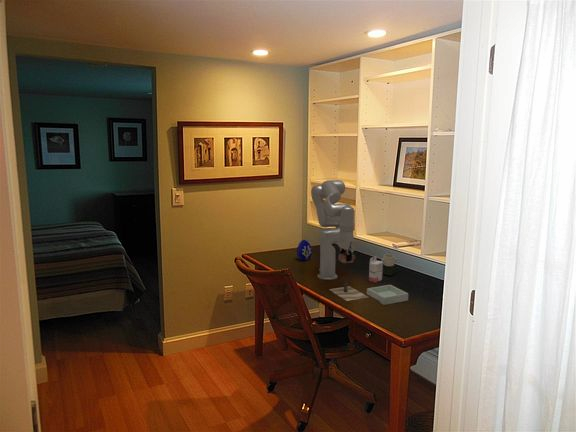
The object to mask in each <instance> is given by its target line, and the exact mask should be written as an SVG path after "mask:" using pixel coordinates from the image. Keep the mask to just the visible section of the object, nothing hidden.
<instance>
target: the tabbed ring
mask: <svg viewBox="0 0 576 432" xmlns="http://www.w3.org/2000/svg"><path fill="white" fill-rule="evenodd" d="M346 255H347V252H346V253H338V258H337V259H338V260H337V261H339V262H340V263H342V264H350V263H354V260H356V255H354V254H352V261H349V262H347V261H346Z"/></svg>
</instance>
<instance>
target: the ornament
mask: <svg viewBox="0 0 576 432" xmlns="http://www.w3.org/2000/svg"><path fill="white" fill-rule="evenodd" d="M296 255H297V258H298V259H299V260H300V261H309V259H310V258H311V257H312V255H313V249H312V245H311V244H310V242H309V241H308V240H306V239H302V240H301V241H300V242H299V243H298V245H297V249H296Z"/></svg>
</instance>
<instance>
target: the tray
mask: <svg viewBox="0 0 576 432" xmlns="http://www.w3.org/2000/svg"><path fill="white" fill-rule="evenodd" d="M366 294H367V296H369V297H372V298H373V299H375V300H377V301H376V302H377V303H379V304H381V305H383V306H385V305H392V304H395V303H396V304H397V303H402V302H408V301H409V293H408V292H407V291H404V290H402V289H400V288H398V287H396V286H394V285H392V284H385V285H380V286H375V287H369V288H366Z"/></svg>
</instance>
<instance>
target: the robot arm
mask: <svg viewBox="0 0 576 432" xmlns="http://www.w3.org/2000/svg"><path fill="white" fill-rule="evenodd" d="M345 191H346V184H345V182H344V181H343V180H342V179H341V180H339V179H331V180H325V181H323V182H322V183H321V184H316V185H313V186H312V187H311V190H310V196H311V200H312V202H313V204H314V207H315V210H316V215H317V220H318V223H319V226H320V227H321V228H322V229H321V230H319V232H318V238H319V240H318V241H319V246H320V247H319V251H320V254H319V262H320V263H319V269H318V271H319V273H318V274H317V278H318V279H320V280H323V281H324V280H325V281H331V280H332V281H333V280H336V279H337V278H338V274H337V273H336V248H335V247H334V245H333V244H337V245H338V248H339V251H340V253H347V255H346V261H347V262H349V261H352V255H354V251H355V248H354V247H355V238H354V235H355V234H354V229H355V228H354V226H355V208H354V206H351V204H349V203H338V202H339V201H341V199H342V195H343V194H344V193H345ZM340 253H339V254H340Z"/></svg>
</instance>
